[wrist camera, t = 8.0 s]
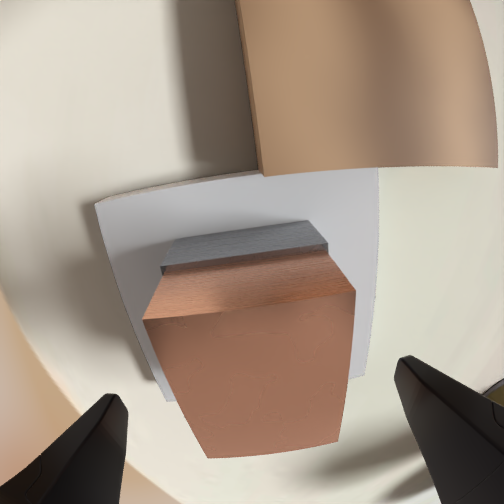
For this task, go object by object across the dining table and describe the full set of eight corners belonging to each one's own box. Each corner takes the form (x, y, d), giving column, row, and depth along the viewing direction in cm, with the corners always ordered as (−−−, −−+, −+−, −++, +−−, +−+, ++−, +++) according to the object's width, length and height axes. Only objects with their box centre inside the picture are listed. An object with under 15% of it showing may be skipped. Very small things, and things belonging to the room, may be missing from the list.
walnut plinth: (430, -21, 7) (454, -35, 5) (465, 160, 11) (497, 167, 9) (227, -47, 7) (226, -76, 5) (258, 169, 11) (264, 177, 9)
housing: (313, 359, 13) (339, 443, 9) (211, 373, 13) (206, 460, 9) (308, 220, 11) (360, 281, 6) (175, 238, 11) (135, 312, 6)
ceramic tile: (362, 160, 11) (377, 164, 10) (355, 358, 15) (364, 375, 14) (109, 196, 11) (94, 204, 10) (170, 382, 15) (166, 401, 14)
